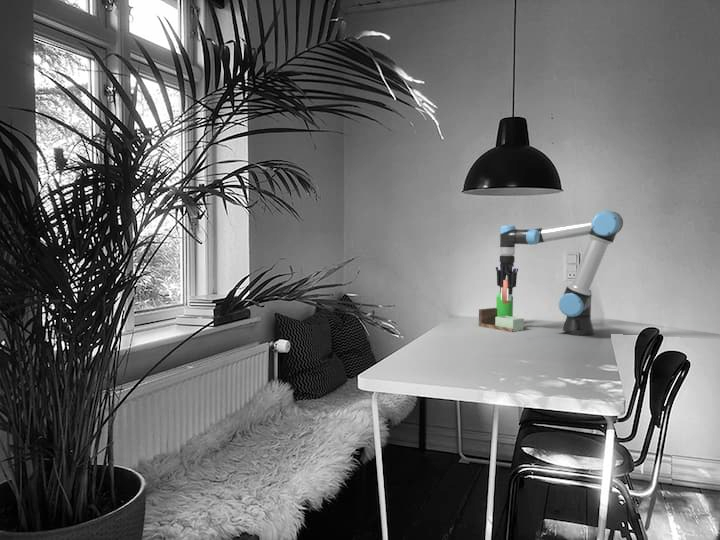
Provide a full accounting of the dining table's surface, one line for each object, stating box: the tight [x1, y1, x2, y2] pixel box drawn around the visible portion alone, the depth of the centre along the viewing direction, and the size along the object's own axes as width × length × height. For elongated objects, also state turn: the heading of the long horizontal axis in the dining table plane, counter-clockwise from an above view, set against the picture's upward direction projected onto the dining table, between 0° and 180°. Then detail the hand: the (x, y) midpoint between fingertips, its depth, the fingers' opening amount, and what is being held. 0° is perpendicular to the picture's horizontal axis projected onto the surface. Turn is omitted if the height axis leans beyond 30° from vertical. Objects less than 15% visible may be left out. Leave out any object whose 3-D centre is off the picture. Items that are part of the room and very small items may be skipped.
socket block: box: [495, 316, 525, 332], centre depth 331 cm, size 12×8×6 cm, turn 35°
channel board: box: [478, 307, 529, 333], centre depth 334 cm, size 23×12×10 cm, turn 35°
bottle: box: [495, 292, 514, 317], centre depth 353 cm, size 9×9×25 cm
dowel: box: [503, 279, 509, 303], centre depth 332 cm, size 3×3×12 cm
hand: (506, 300), depth 332 cm, fingers closed on dowel, 3 cm apart
